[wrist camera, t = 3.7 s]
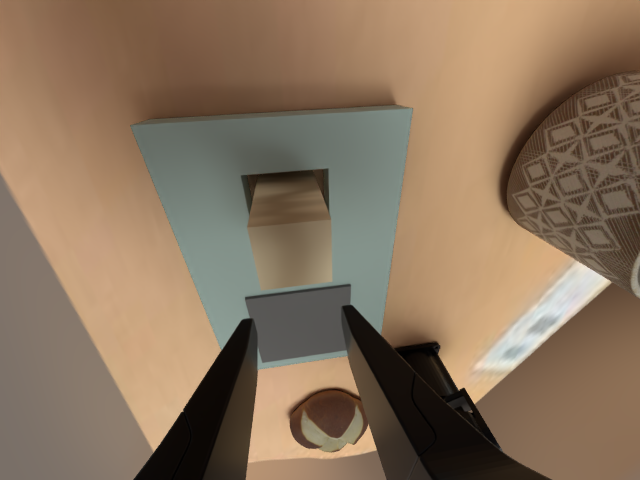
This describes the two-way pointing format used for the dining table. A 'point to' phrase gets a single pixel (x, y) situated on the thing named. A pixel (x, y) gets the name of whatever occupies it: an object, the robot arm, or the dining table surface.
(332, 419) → the bread
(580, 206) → the planter
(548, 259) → the dining table surface
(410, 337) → the dining table surface
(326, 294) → the pocket board
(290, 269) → the maple block
